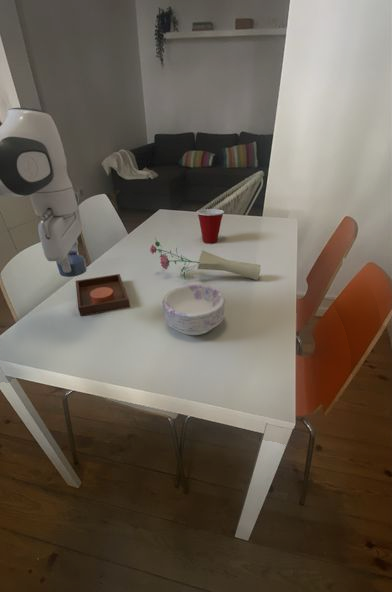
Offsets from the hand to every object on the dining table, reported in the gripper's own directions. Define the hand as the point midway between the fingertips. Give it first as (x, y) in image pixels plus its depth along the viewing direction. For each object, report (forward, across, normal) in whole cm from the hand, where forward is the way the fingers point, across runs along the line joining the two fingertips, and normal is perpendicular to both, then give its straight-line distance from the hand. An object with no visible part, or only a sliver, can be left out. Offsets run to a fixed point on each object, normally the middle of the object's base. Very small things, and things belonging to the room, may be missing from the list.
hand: (71, 264), depth 76 cm
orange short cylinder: (+15, +8, -4) cm, 17 cm away
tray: (+15, +11, -2) cm, 19 cm away
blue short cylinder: (+2, 0, 0) cm, 2 cm away
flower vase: (+16, +20, -34) cm, 43 cm away
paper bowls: (+15, -7, -29) cm, 33 cm away
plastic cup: (+16, +54, -40) cm, 70 cm away
